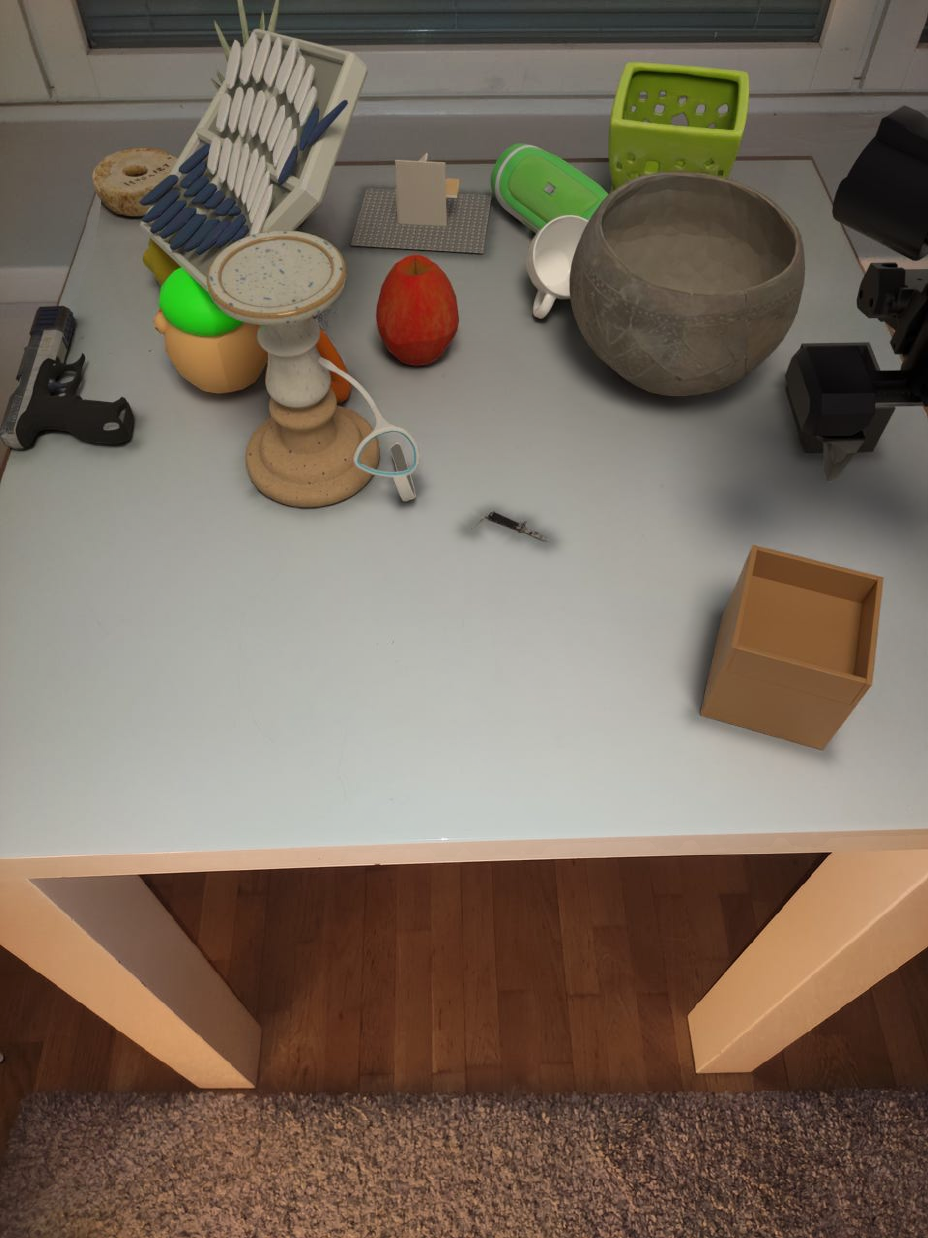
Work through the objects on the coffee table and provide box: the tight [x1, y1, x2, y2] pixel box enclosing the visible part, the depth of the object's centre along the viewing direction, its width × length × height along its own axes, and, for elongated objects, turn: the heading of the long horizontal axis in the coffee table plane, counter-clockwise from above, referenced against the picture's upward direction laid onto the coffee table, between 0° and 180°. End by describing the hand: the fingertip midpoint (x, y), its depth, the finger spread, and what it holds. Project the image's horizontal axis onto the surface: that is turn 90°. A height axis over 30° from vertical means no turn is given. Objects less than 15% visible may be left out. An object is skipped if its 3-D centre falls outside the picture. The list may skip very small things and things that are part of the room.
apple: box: [375, 254, 460, 367], centre depth 88 cm, size 8×8×11 cm
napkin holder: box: [393, 152, 461, 226], centre depth 103 cm, size 3×7×7 cm, turn 84°
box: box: [699, 544, 884, 751], centre depth 67 cm, size 9×9×10 cm
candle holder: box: [207, 230, 381, 508], centre depth 76 cm, size 12×12×20 cm
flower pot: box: [607, 61, 750, 194], centre depth 101 cm, size 14×14×13 cm
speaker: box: [490, 142, 610, 234], centre depth 101 cm, size 18×7×8 cm
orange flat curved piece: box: [255, 324, 352, 403], centre depth 84 cm, size 10×2×15 cm
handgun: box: [0, 305, 135, 451], centre depth 90 cm, size 3×19×12 cm
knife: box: [471, 510, 550, 541], centre depth 80 cm, size 6×1×3 cm
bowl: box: [569, 171, 806, 397], centre depth 86 cm, size 21×21×15 cm
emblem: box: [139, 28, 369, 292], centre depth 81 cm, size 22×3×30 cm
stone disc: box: [91, 147, 178, 217], centre depth 107 cm, size 10×4×10 cm
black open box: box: [784, 341, 897, 454], centre depth 85 cm, size 9×6×6 cm
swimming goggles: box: [318, 357, 421, 502], centre depth 78 cm, size 14×8×6 cm
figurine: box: [153, 267, 268, 395], centre depth 86 cm, size 11×10×12 cm
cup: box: [526, 215, 588, 320], centre depth 95 cm, size 8×10×7 cm
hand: (890, 476), depth 66 cm, fingers open, 9 cm apart
